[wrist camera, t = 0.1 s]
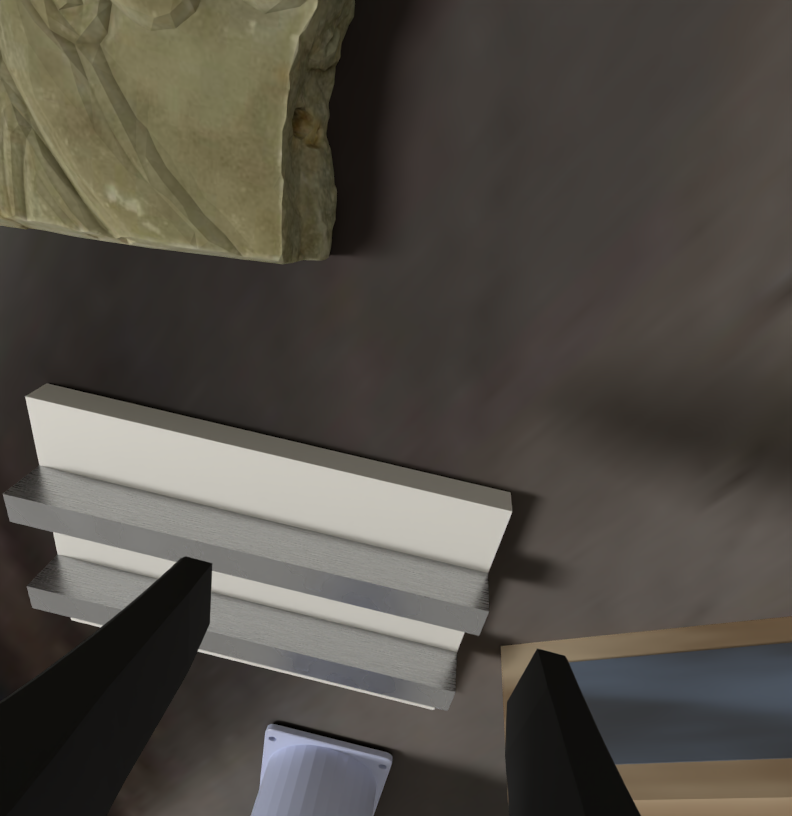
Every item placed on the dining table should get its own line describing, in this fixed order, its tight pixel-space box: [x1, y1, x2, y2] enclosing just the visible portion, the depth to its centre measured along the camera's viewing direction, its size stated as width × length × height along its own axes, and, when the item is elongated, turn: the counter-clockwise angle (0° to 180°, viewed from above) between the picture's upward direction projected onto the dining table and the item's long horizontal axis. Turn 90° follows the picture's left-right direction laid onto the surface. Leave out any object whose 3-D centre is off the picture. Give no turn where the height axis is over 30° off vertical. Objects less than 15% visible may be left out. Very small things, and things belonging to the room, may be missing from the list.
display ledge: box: [3, 383, 512, 711], centre depth 24 cm, size 14×20×3 cm
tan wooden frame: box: [501, 616, 792, 816], centre depth 22 cm, size 3×14×7 cm, turn 109°
